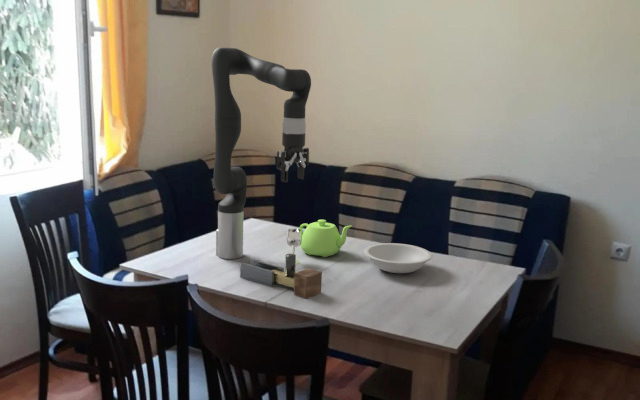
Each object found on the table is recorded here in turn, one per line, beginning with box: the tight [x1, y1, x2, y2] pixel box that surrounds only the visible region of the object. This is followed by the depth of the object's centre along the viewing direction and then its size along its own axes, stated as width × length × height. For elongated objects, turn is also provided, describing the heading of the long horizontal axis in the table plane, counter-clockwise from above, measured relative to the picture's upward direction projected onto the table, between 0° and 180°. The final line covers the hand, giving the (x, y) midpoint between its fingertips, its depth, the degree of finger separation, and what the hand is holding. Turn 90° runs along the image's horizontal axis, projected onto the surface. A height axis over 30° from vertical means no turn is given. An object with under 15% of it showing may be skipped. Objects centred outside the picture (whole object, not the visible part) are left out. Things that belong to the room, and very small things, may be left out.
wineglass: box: [285, 228, 302, 265], centre depth 232 cm, size 6×6×12 cm
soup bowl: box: [364, 242, 433, 274], centre depth 228 cm, size 24×24×7 cm
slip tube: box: [271, 253, 297, 289], centre depth 206 cm, size 16×3×10 cm, turn 54°
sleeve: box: [239, 258, 285, 288], centre depth 213 cm, size 14×6×5 cm, turn 54°
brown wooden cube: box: [293, 267, 323, 300], centre depth 202 cm, size 6×7×7 cm
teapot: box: [298, 219, 352, 258], centre depth 244 cm, size 22×15×13 cm
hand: (292, 180), depth 212 cm, fingers open, 8 cm apart
